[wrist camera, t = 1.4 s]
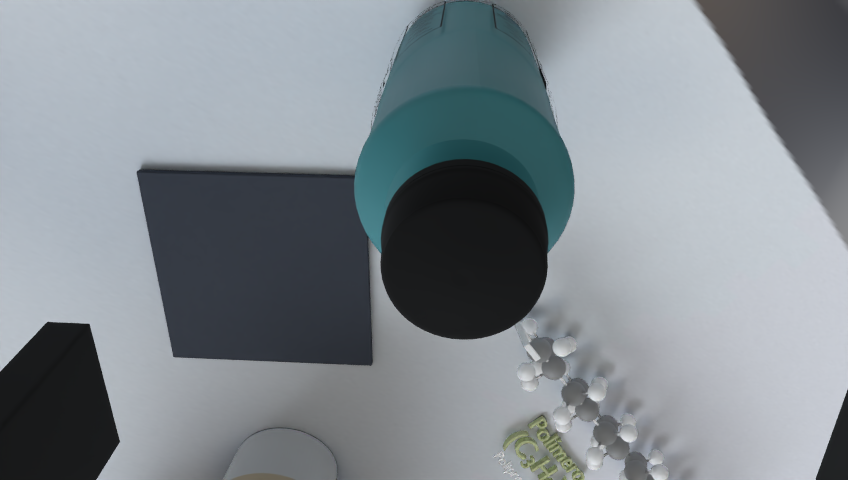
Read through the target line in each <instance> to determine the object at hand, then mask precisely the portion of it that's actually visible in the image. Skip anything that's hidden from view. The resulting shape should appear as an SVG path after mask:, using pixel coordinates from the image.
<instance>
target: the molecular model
mask: <svg viewBox="0 0 848 480" xmlns="http://www.w3.org/2000/svg"><path fill="white" fill-rule="evenodd" d="M515 327H516V329H517V332H518V334H519V336H520V339H521V341H522V344H523V346H524V348H525V349H526V350H527V355H528V357H529V358H530V359H531V360H532V362H531V363H522V364H521V365H520V366H519V367H518V369H517V375H518V377H519V378H520V379H521V386H522V388H523V389H524V390H525V391H528V392H532V391H534V390H536V389H537V387H538V383H539V382H538V378H540V377H541V376H543V375H544V376H545V377H547V378H548V379H551V380H558V379H560V380H561V381H562V383H563V384H564V386H563V388H562V391H561V395H562V399H563V402H562V404H561V407H558V408H556V409H555V410H554V412H553V419H554V421H555V427H556V429H557V430H558V431H559V432H562V433H566V432H568V431H569V430H570V429H571V428H572V421H571V420H573V419H574V418H576V417H577V416H578V418H579V419H581V420H582V421H586V422H590V421H594V423H595V424H596V426H595V427H594V430H593V435H594V436H592V438H591V441H590V442H591V446H592V447H591V448H589V449H588V450H587V452H586V464H587V466H588V468H590V469H591V470H599V469H600V468H601V467H602V465H603V459H604V457H605V456H606V455H609V456H610V457H611V458H613V459H615V460H621V459H624V458H625V457H626V458H625V469H624V470H622V471H621V472H620V474H619V480H667V479H668V476H669V471H668V469H667V468H666V467H665V466H664V465H662V463H663V461H664V456H663V454H662V453H661V452H660V451H659V450H652V451H650V452H649V454H648V459H647V460H646V459H645V457H644V456H643V455H642V454H641V453H638V452H632V453H629V449H630V448H629V442H633V441H635V440H636V439H637V437H638V431H637V429H636V427H635V426H636V419H635V417H634V416H633V415H631V414H624V415H622V416H621V418H620V423H617V421H616V420H615V419H614V418H613V417H611V416H607V415H605V416H602V417H601V416H600V415H599V408H600V404H599V401H601V400H603V399H604V398H605V396H606V390H607V388H608V383H607V381H606V379H604V378H603V377H596V378H594V379H593V380H592V383H591V385H590V386H588V384H587V383H586V382H585V381H584V380H583V379H580V378H574V379H572V380H571V378H570V377H569V375H568V373H569V371H570V365H569V363H568V362H567V361H566V360H563V359H562V358H560V357H564V356H567V355H568V354H569V353H572V352H574V351H575V350H576V348H577V342H576V340H575V339H574V338H572V337H564V338H558V339H556V340H555V341H553V340H552V339H550V338H548V337H543V338H538V336H537V335H536V331H537V329H538V324H537V322H536V321H535V320H534V319H531V318H527V319H525V320H523V322H522V323H521V321H519V322H518V323H517V324H515ZM533 334H534V336H535V337H536V338H535V339H531V338H530V336H529V335H533ZM529 341H530V342H529ZM555 355H557V356H555ZM559 356H560V357H559ZM535 375H539V376H537V377H536V376H535ZM565 375H566V376H567V378H568V379H569V382H568V383H566V382H565V381H564V379H563V378H562V377H563V376H565ZM587 396H589V397H590V398H586V397H587ZM575 412H576V415H575V416H573V417H571V414H573V413H575ZM597 416H598V417H599V419H598V420H597V421H596V418H597ZM542 421H543V422H544V423H543V424H539V423H540V422H542ZM536 425H537V426H538V427H539V428H540V429H539V430H538V431H537V437H538V439H539V440H540V441H543V445H544V446H546V448H547V449H549V452H550V453H552V452H553V451H555V450H556V449H558V450H557V451H555V452H553V453H552V454H553V457H554V458H555V457H556V456H558V455H559V454H561V453H562V454H561V455H560V456H558V457H556V459H557V461H558V462H559V461H560V463H561V466H562V468H564V469H565V470H566V472H567V473H568V472H570V471H571V470H573V469H576V471H574V472H573V473H572V478H573V480H584V474H583V472H582V471H580V470H579V469H578V466H576V464H575V463H573V462H572V460H571V458H570V457H566V453H565V451H564V450H562V448H561V446H560V445H559V444H558V443H557V442H562V440H561V438H558V437H559V436H558V434H557V433H556V434H554V435H553V436H551V437H549V436H550V435H549V432H548V430H547V429H544V428H546V427H547V421H546V419H545V418H544V417H543V416H541V417H539V418H538V419H536V420H535V421H533V422H531V423H530V424H528V426H529V428H530V429H531V428H533V427H534V426H536ZM619 425H621V426H622V427H621V429H620V432H618V426H619ZM542 433H546V435H545V436H543V437H541V436H540V435H541V434H542ZM523 436H529V434H528V432H527V431H518V432H515V433H513V434H511V435H510V436H509V437H508V438H507V439H506V440H505V442H504V444H503V449H504V451H505V450H506V448H507V447H508V445H509V444H510V443H512V442H513V441H514V440H516V439H518V438H520V437H522V438H520V439H519V440H517V442H516V443H515V451H516V454H517V455H518V457H519V458H521V459H523V460H525V459H526V455H525V454H523V453H521V452H520V451H519V448H520V447H521V446H522V445H523V444H526V443H530V444H532V445H534V447H535V450H536V452H537V451H538V450H539V449H538V446H537V443H536V441H535V440H534V439H533V438H531V437H523ZM555 439H556V440H557V442H556V440H555ZM605 446H606V451H607V453H605V454H603V452H602V449H604V448H605ZM501 453H502V454H503V455H502V456H500V454H501ZM496 456H499V457H500V458H501V459H499V461H498V462H499V464H500V465H503V466H502V467H503V468H504V467H505V468H504V470H506V469H507V470H506V471H504V472H503V474H505V473H506V472H507V473H508V474H511V475H510V476H511V477H512V476H514V475H517V477H515V479H514V480H516V479H518V478H520V480H522V478H521V477H520V476H518V473H517V472H514V469H513V468H512V467H511V466H513V464H512V462H511V461H510V462H508V463H506V460H505V459H504V458H503V457H504V453H503V451H500V452H499V453H497V454H495V455H494V456H493V457H494V458H495V457H496ZM530 459H532V460H526V461H527V463H526V464H523V462H522V461H521V462H520V463H521V466H522V467H523V468H528V467H529V466H530V465H531V466H530V469H531V471H532V472H534V471H535V470H537V469H539V468H541V469H542V470H543V471H544V472H542V473H541V474H539V475H538V478H539V480H553V479H552V478H547V477H549V476H550V475H552V474H553V473H555V472H557V471H558V469H557V466H556V465H553V466H552V467H550V468H549V469H547V468H546V467H545V466H544V465H545V464H546V463H548V462H550V459H549V457H548V456H547V455H546V456H545V457H543V458H542V459H540V460H539V461H537V462H536V463H535V459H534V457H533V456H532V455H531V456H530ZM501 460H504V462H503V463H500V461H501ZM568 461H569V462H568ZM648 461H649V462H650V463H651V464H652V465H654V466H653V467H652V469H651V470H649V469H647V462H648ZM505 463H506V464H505ZM510 463H511V466H510V465H509V464H510ZM564 463H566V464H567V465H568V467H567V466H566V465H564ZM572 463H573V464H572ZM504 464H505V465H504ZM507 465H508V466H507ZM506 466H507V467H506ZM509 467H510V468H509ZM508 468H509V469H508ZM511 469H512V471H511V472H508V471H510V470H511ZM513 472H514V473H513ZM512 473H513V474H512ZM577 475H581V476H580V477H579V478H575V477H576V476H577ZM562 480H567V479H566V476H565V475H564V477H563V479H562Z"/></svg>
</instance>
